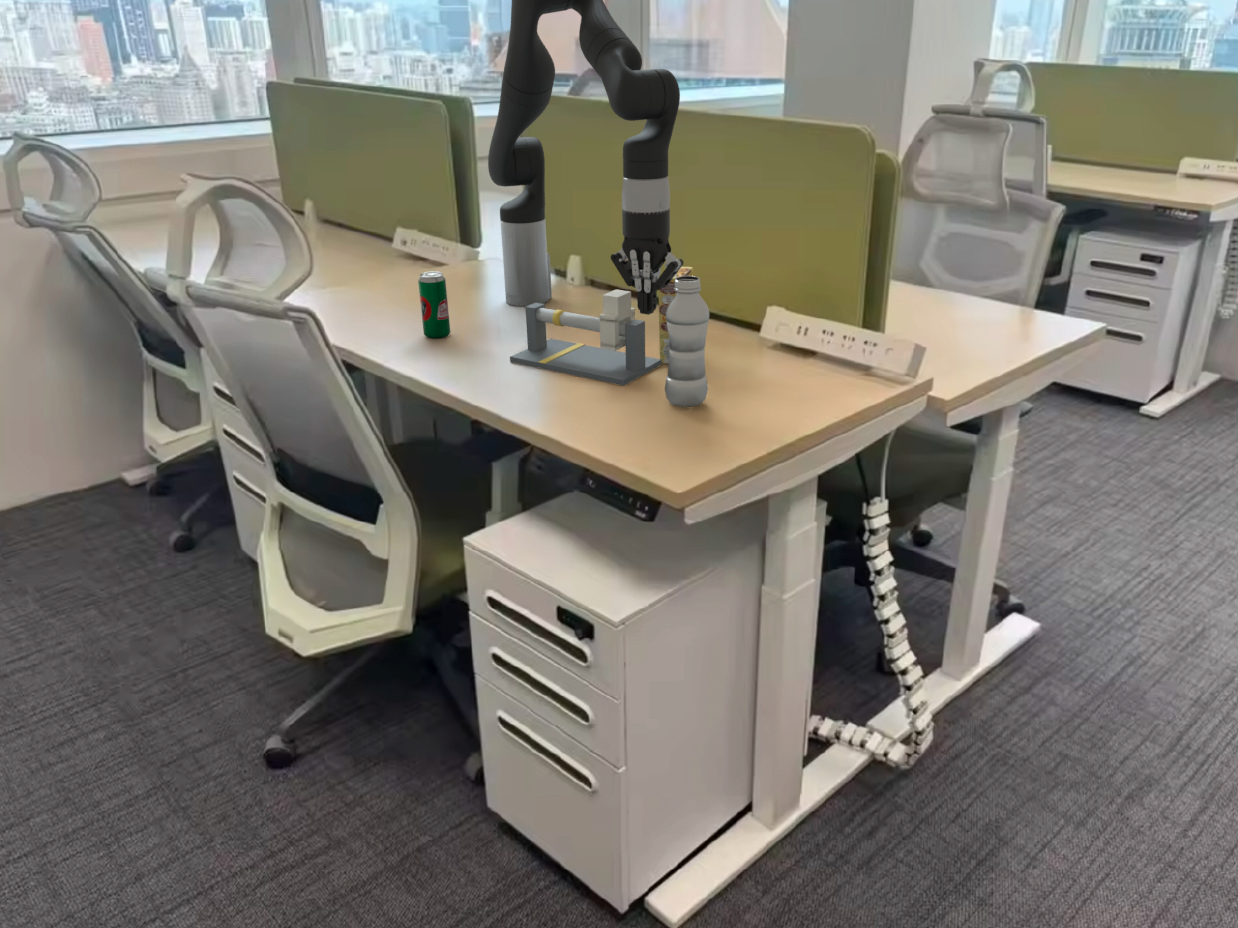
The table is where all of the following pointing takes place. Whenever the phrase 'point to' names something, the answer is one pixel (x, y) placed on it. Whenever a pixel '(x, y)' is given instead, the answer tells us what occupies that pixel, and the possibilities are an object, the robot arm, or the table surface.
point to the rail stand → (584, 348)
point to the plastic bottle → (687, 344)
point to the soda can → (434, 305)
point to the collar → (615, 318)
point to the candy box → (664, 301)
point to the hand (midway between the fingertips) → (646, 312)
